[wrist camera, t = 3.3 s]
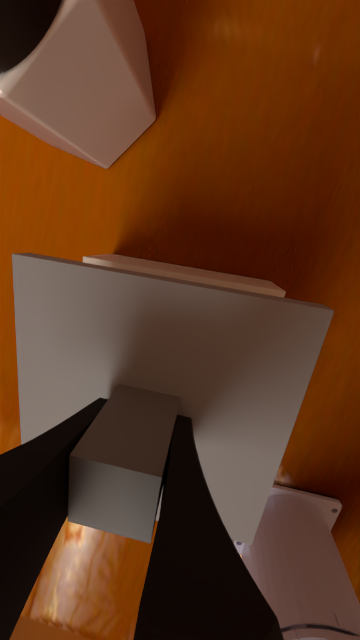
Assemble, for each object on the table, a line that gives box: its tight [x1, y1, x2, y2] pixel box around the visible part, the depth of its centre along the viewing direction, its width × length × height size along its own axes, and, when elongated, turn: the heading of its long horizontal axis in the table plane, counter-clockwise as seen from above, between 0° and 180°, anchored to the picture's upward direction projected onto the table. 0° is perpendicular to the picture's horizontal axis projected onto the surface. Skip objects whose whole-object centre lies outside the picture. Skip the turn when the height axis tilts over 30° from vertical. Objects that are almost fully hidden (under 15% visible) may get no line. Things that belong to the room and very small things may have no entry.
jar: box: [0, 0, 156, 169], centre depth 11 cm, size 9×8×12 cm
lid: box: [12, 253, 334, 545], centre depth 10 cm, size 13×13×5 cm
